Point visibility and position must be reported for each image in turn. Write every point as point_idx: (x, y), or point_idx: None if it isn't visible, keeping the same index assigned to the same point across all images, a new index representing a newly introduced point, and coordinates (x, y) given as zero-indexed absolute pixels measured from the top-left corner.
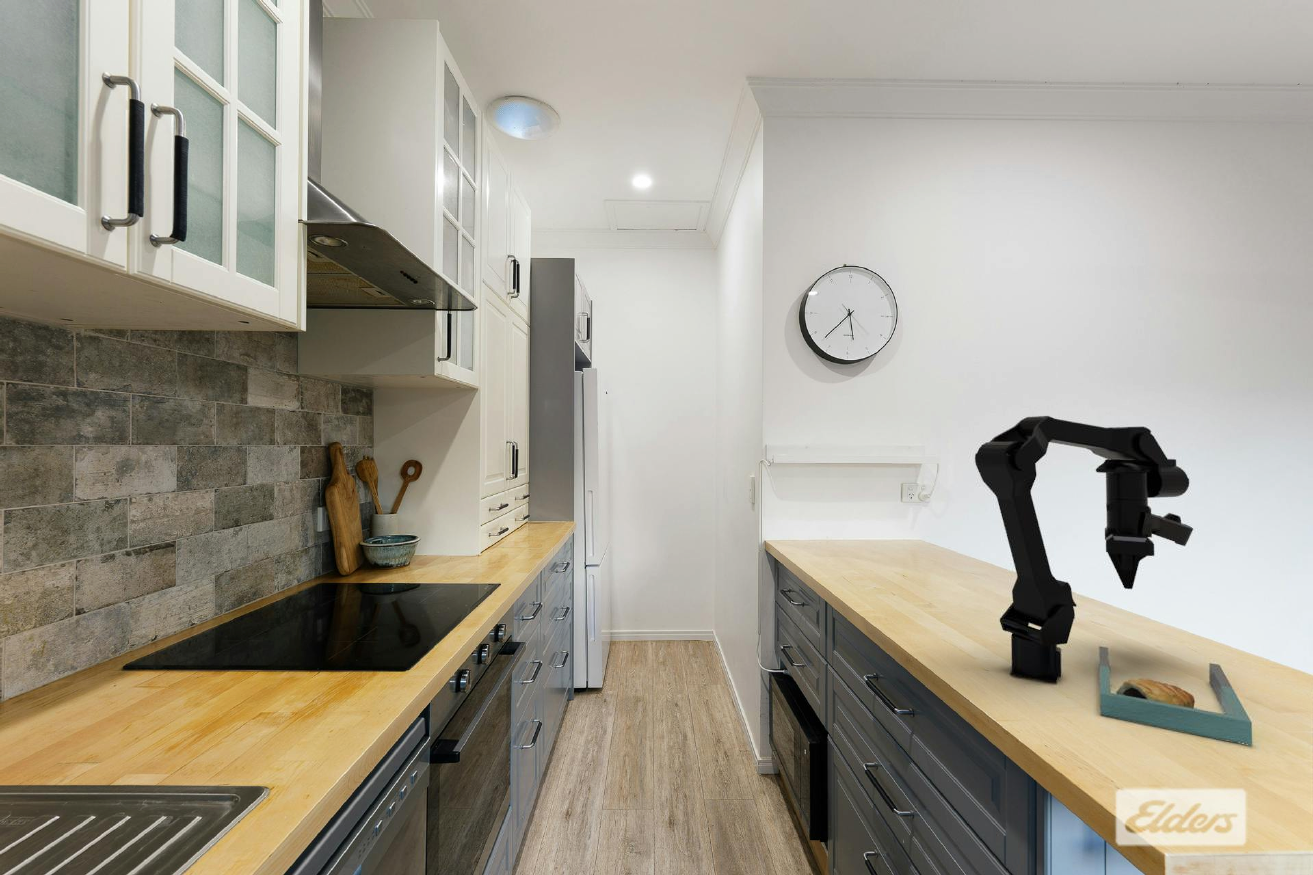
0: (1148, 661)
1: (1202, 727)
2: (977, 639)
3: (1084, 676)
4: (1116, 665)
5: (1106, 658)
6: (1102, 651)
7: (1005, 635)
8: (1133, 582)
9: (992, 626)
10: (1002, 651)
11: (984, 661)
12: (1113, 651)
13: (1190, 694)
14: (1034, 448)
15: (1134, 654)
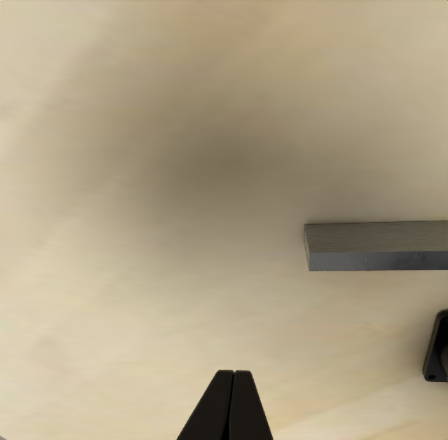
0: (192, 136)
1: None
2: (269, 423)
3: None
4: (293, 207)
5: (442, 255)
6: (364, 263)
7: (200, 391)
8: (262, 413)
9: (148, 409)
10: (330, 391)
11: (425, 410)
12: (157, 215)
13: None
14: None
15: (145, 169)
